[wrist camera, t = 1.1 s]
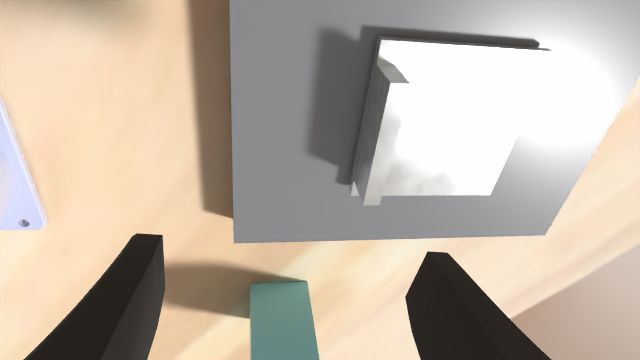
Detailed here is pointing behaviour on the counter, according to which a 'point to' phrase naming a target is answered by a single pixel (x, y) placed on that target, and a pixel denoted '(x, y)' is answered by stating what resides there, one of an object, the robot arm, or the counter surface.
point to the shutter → (442, 116)
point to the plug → (281, 322)
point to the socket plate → (349, 102)
